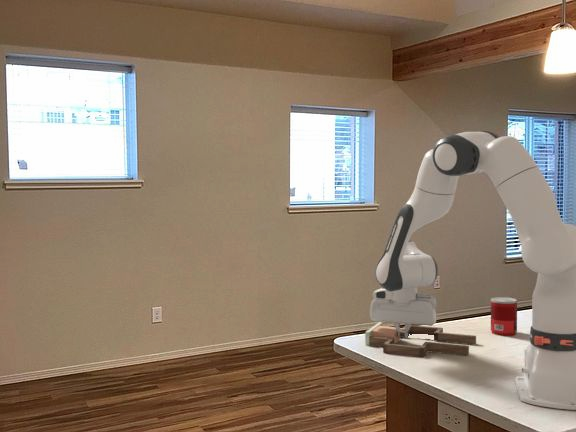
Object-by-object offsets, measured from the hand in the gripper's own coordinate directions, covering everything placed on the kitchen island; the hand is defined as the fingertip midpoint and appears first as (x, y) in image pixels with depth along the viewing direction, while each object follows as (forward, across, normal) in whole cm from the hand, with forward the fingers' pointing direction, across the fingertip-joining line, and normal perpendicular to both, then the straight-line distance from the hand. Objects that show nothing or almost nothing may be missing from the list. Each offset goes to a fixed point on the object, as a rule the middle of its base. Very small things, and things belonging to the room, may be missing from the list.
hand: (402, 337), depth 193 cm
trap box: (+2, -6, 0) cm, 6 cm away
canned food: (+2, -27, -23) cm, 35 cm away
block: (+2, +5, +1) cm, 5 cm away
